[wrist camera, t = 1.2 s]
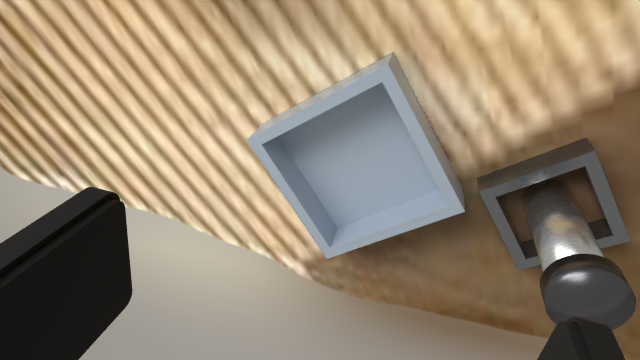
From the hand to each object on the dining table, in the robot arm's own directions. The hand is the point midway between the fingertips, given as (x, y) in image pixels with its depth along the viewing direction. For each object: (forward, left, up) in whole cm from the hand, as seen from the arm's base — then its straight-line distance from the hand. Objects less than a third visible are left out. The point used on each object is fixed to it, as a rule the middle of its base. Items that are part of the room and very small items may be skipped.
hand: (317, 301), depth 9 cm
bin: (+9, +7, -30) cm, 32 cm away
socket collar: (-4, +18, -30) cm, 36 cm away
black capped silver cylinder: (-4, +18, -30) cm, 36 cm away
